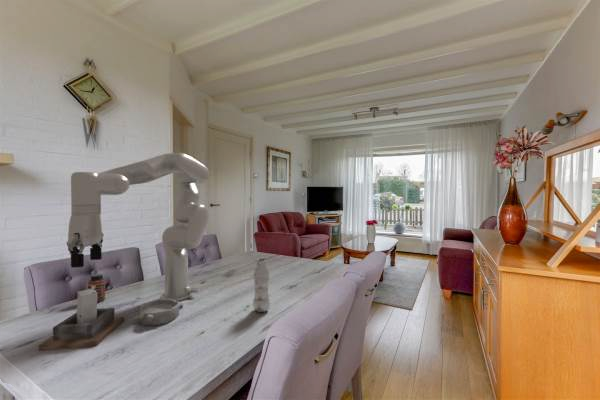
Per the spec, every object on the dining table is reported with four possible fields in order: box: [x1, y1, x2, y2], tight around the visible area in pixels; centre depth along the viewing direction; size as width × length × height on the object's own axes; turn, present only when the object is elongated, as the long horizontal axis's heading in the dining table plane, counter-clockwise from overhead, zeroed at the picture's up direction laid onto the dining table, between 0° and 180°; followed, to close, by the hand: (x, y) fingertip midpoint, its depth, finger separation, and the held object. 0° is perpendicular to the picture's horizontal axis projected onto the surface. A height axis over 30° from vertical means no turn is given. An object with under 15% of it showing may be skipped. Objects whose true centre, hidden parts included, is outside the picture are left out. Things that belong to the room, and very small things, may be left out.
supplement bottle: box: [87, 273, 106, 303], centre depth 114 cm, size 6×6×11 cm
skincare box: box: [76, 288, 98, 324], centre depth 87 cm, size 6×4×12 cm
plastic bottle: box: [252, 258, 271, 313], centre depth 105 cm, size 6×7×20 cm
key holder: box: [38, 307, 125, 351], centre depth 87 cm, size 15×17×6 cm
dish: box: [138, 298, 184, 326], centre depth 99 cm, size 14×14×5 cm
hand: (87, 263), depth 87 cm, fingers open, 9 cm apart
